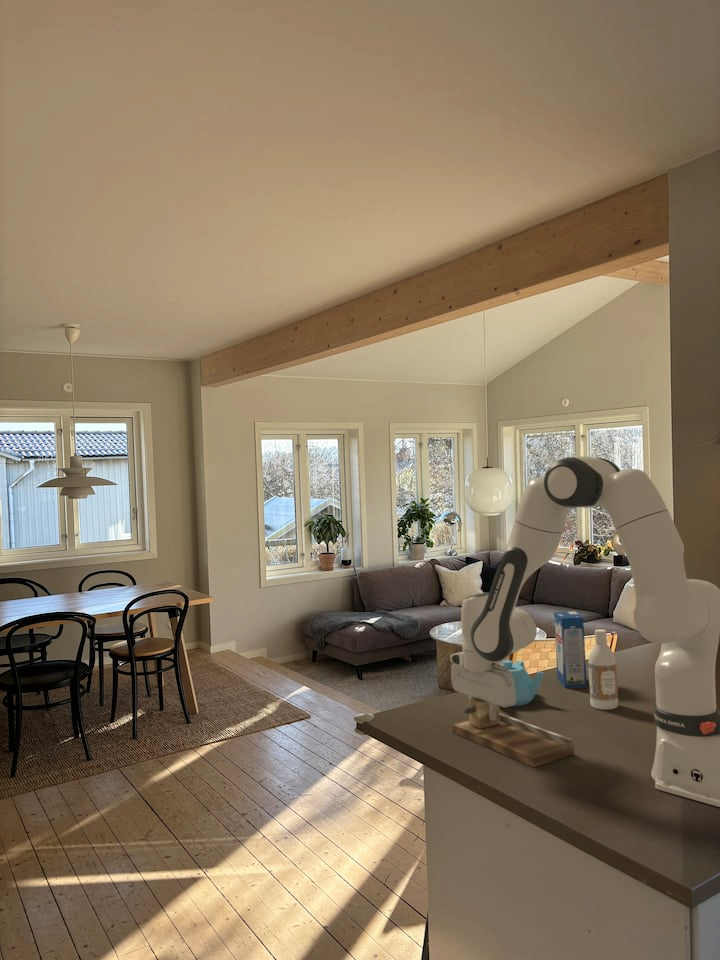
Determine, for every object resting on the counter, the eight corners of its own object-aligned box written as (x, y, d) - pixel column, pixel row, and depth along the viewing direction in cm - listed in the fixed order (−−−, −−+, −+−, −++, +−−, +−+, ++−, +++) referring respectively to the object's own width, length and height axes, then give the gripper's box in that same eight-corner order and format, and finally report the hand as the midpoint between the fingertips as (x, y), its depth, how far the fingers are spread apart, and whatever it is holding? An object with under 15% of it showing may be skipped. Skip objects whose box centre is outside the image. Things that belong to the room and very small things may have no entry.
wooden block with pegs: (507, 721, 185) (506, 697, 185) (472, 730, 180) (471, 705, 180) (496, 717, 189) (495, 693, 189) (461, 726, 183) (460, 701, 183)
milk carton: (557, 678, 228) (554, 612, 228) (578, 677, 228) (574, 611, 228) (565, 688, 218) (561, 618, 218) (586, 687, 218) (583, 617, 218)
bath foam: (597, 711, 196) (593, 634, 196) (586, 703, 203) (582, 628, 202) (623, 709, 197) (619, 631, 196) (610, 701, 203) (607, 626, 203)
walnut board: (574, 754, 167) (573, 738, 167) (533, 767, 161) (532, 750, 161) (490, 722, 192) (490, 708, 192) (452, 732, 185) (452, 718, 185)
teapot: (548, 705, 203) (546, 665, 203) (494, 711, 200) (492, 670, 200) (524, 690, 218) (522, 652, 218) (474, 695, 215) (473, 657, 215)
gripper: (520, 665, 177) (523, 724, 177) (465, 650, 194) (468, 704, 194) (500, 670, 173) (503, 730, 174) (445, 654, 191) (448, 709, 191)
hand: (484, 716), depth 184 cm, fingers closed on wooden block with pegs, 4 cm apart
